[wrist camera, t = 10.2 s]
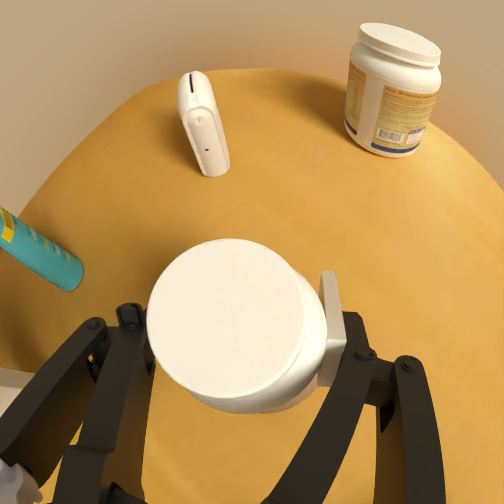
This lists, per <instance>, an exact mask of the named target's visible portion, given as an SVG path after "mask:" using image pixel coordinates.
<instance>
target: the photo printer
mask: <svg viewBox="0 0 504 504" xmlns="http://www.w3.org/2000/svg"><path fill="white" fill-rule="evenodd" d="M177 103H178V111H179V115H180V118H181V121H182V123H183V126H184V128H185V131H186V134H187V136H188V139H189V141H190V144H191V146H192V149H193V151H194V154H195V156H196V159H197V161H198V164H199V166H200V169H201V171H202V173H203V175H204V176H208V177H218V176H221V175H223V174H225V173H226V172H227V170H229V169H230V159H229V153H228V148H227V144H226V140H225V135H224V131H223V127H222V123H221V120H220V116H219V112H218V109H217V105H216V102H215V98H214V95H213V91H212V87H211V84H210V82H209V79H208V78H207V77H206V76H205V75H204V74H203V73H201V72H199V71H193V72H191V73H186V74H185V75H183V77H182V78H181V79H180V81H179V84H178V88H177Z"/></svg>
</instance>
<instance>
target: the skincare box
mask: <svg viewBox="0 0 504 504" xmlns="http://www.w3.org/2000/svg"><path fill="white" fill-rule="evenodd" d="M34 375H35V373H28V372H23V371H17V370H12V369H7V368H3V367H0V417H1V416H2V414H3V413H4V412H5V410H6V409H7V408H8V407H9V405H10V404H11V403H12V402H13V400H14V399H15V398H16V397H17V396H18V394H19V393H20V392H21V391H22V389H23V388H24V387H25V386H26V385H27V384H28V382H29V381H30V380H31V379H32V378H33V377H34Z"/></svg>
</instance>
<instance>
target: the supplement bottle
mask: <svg viewBox="0 0 504 504" xmlns="http://www.w3.org/2000/svg"><path fill="white" fill-rule="evenodd" d="M146 324H147V334H148V339H149V342H150V346H151V348H152V351H153V353H154V355H155V357H156V359H157V361H158V362H159V364H160V365H161V367H162V368H163V369H164V370H165V371H166V372H167V374H168V375H169V376H170V377H171V378H173V379H174V380H175V381H176V382H177V383H179V384H180V385H182V386H183V387H184V388H185V389H186V390H187V391H188V392H189V393H190V394H191V395H192V396H194V397H195V398H196V399H198V400H199V401H201V402H202V403H204V404H206V405H208V406H210V407H212V408H215V409H218V410H221V411H225V412H229V413H235V414H256V413H261V412H266V411H269V410H272V409H275V408H277V407H280V406H282V405H284V404H286V403H287V402H289V401H290V400H292V399H293V398H295V397H296V396H297V395H298V394H300V393H301V392H302V391H303V390H304V389H305V388H306V387H307V386H308V384H309V383H310V382H311V381H312V379H313V378H314V376H315V374H316V373H317V371H318V369H319V367H320V365H321V362H322V360H323V357H324V353H325V349H326V343H327V323H326V317H325V313H324V310H323V307H322V304H321V302H320V300H319V298H318V296H317V294H316V292H315V291H314V289H313V288H312V286H311V285H310V284H309V283H308V282H307V280H306V279H305V278H304V277H303V276H302V275H301V274H299V273H298V272H297V271H296V270H294V269H293V268H291V267H290V266H289V264H288V263H287V262H286V261H285V260H284V259H283V258H281V257H280V256H279V255H278V254H277V253H275V252H274V251H272V250H271V249H269V248H267V247H265V246H263V245H261V244H258V243H256V242H253V241H249V240H244V239H233V238H227V239H218V240H212V241H208V242H204V243H201V244H199V245H196V246H194V247H192V248H190V249H188V250H187V251H185V252H184V253H182V254H181V255H179V256H178V257H177V258H176V259H174V260H173V261H172V262H171V263H170V264H169V265H168V267H167V268H166V269H165V270H164V271H163V273H162V274H161V276H160V277H159V278H158V280H157V282H156V284H155V286H154V288H153V290H152V293H151V296H150V299H149V302H148V308H147V318H146Z"/></svg>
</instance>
